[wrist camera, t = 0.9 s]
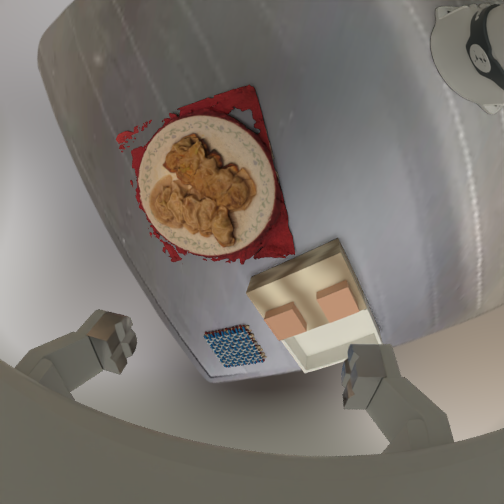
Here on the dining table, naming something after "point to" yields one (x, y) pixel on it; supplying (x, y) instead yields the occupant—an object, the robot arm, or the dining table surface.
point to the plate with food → (212, 182)
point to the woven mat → (235, 346)
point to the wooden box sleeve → (305, 282)
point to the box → (333, 340)
